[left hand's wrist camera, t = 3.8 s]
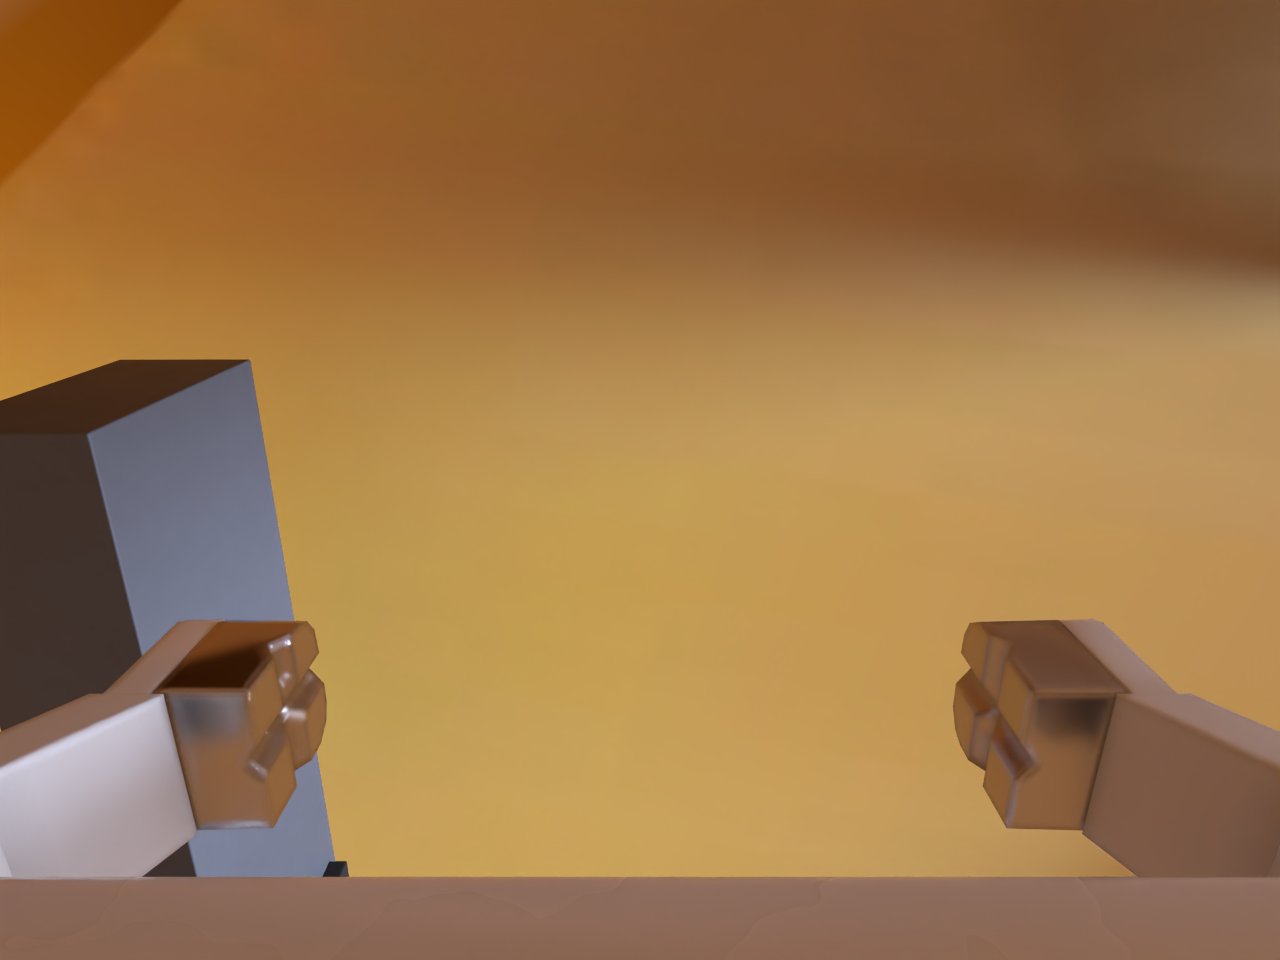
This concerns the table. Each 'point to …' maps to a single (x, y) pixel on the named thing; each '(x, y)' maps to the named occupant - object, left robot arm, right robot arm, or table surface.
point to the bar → (143, 557)
